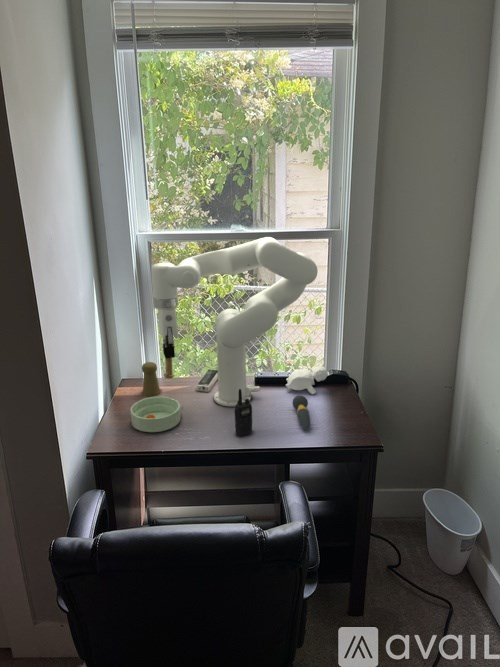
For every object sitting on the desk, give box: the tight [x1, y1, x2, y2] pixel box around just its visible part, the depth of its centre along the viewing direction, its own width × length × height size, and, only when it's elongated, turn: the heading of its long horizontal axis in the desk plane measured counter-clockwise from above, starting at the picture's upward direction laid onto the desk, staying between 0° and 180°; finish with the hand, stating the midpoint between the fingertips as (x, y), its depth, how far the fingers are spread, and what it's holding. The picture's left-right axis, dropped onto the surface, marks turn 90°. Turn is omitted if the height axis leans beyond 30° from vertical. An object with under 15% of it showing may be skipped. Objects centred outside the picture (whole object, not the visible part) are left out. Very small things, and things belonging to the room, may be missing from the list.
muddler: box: [163, 340, 175, 379], centre depth 169 cm, size 3×3×13 cm
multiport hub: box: [196, 369, 218, 393], centre depth 188 cm, size 4×14×2 cm, turn 167°
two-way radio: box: [234, 389, 253, 437], centre depth 152 cm, size 6×4×15 cm
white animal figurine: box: [285, 365, 328, 395], centre depth 182 cm, size 8×8×15 cm
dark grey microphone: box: [292, 394, 311, 431], centre depth 162 cm, size 20×5×5 cm, turn 7°
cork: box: [141, 361, 161, 397], centre depth 180 cm, size 6×6×11 cm
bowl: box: [129, 396, 182, 433], centre depth 161 cm, size 15×15×5 cm
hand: (169, 355), depth 169 cm, fingers closed on muddler, 2 cm apart
